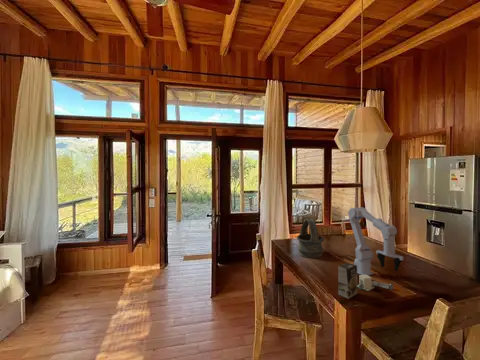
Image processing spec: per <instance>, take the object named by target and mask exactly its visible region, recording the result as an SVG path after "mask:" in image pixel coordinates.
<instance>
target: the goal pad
mask: <svg viewBox="0 0 480 360" xmlns="http://www.w3.org/2000/svg"><path fill="white" fill-rule="evenodd" d="M375 287H376V286H372V288H367V289H364V288H363V290H365V291H367V292H368V291H371V290H372V289H375ZM357 288H359V284H357Z"/></svg>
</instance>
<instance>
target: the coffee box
mask: <svg viewBox="0 0 480 360" xmlns="http://www.w3.org/2000/svg"><path fill="white" fill-rule="evenodd" d="M337 267H338V270H337V272H338V276H337V279H338V283H337V285H338V287H337V288H338V293H337V294H338V295H339V296H342V297H344V298H346V299H348V300H349V299H351V298H352V297H354V296H356V295H357V294H358V287H357V285H358V273H357V265H354V263H349V262H346V263H343V264H341V265H338V266H337Z"/></svg>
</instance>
